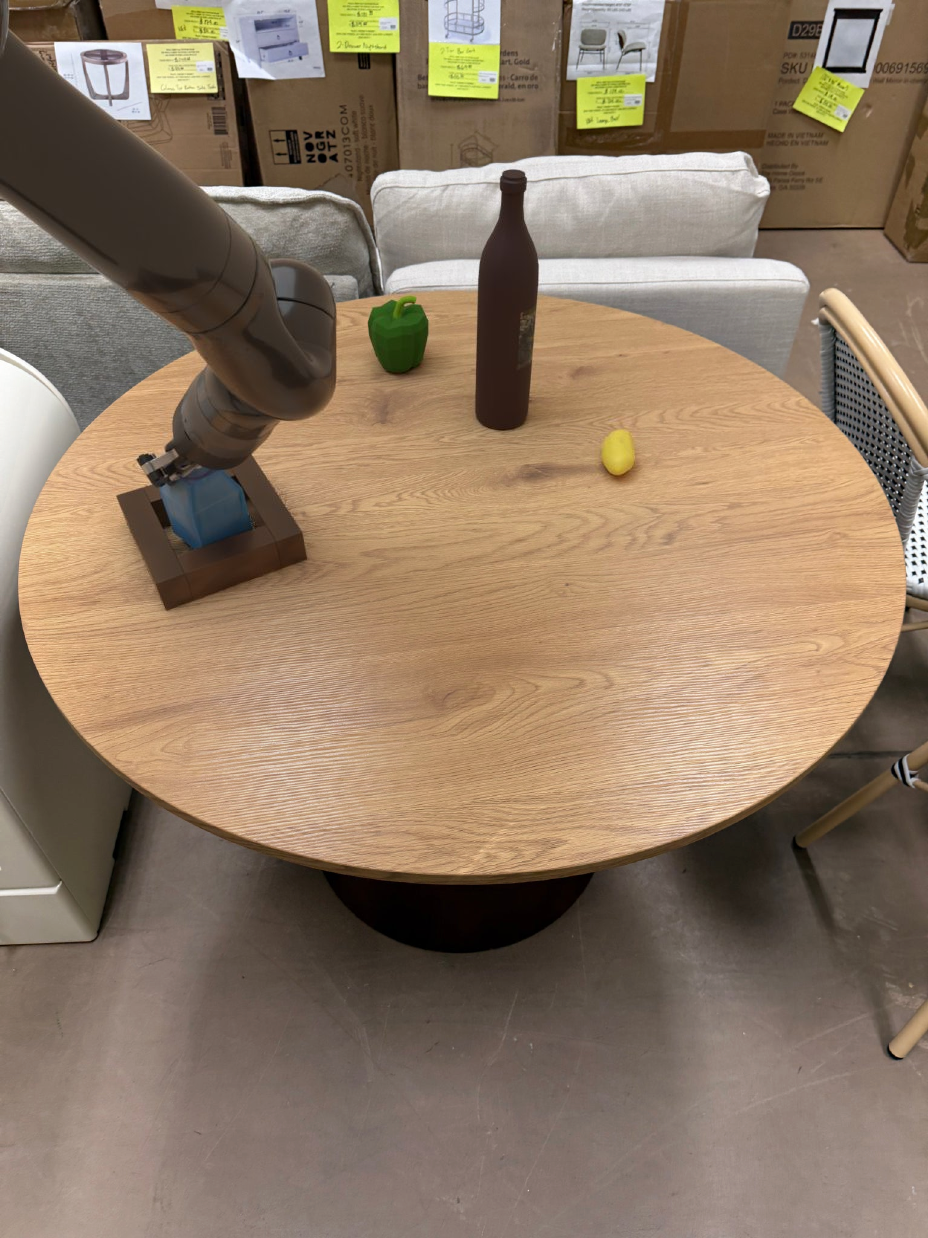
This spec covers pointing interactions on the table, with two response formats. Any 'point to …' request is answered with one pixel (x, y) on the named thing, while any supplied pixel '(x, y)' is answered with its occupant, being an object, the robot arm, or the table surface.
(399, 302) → the bell pepper
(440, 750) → the table surface
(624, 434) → the lemon
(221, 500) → the perfume bottle
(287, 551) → the holder
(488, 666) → the table surface
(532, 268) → the wine bottle
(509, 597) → the table surface
